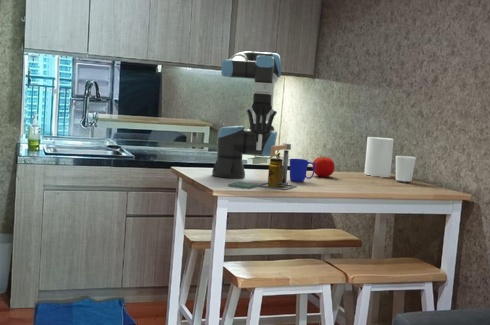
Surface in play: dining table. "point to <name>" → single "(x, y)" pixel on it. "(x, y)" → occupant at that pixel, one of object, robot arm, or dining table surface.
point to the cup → (404, 168)
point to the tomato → (323, 166)
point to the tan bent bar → (280, 148)
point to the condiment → (275, 173)
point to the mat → (243, 185)
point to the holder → (276, 187)
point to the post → (285, 167)
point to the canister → (379, 156)
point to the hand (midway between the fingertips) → (258, 149)
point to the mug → (299, 169)
